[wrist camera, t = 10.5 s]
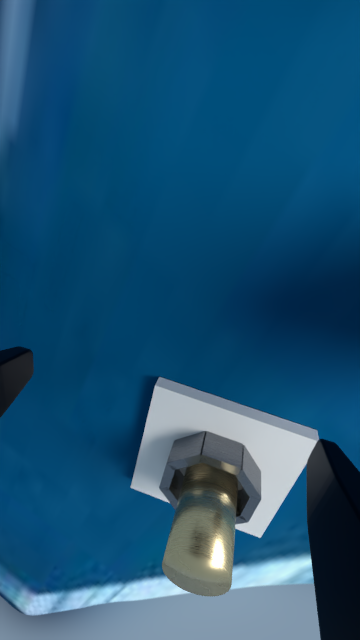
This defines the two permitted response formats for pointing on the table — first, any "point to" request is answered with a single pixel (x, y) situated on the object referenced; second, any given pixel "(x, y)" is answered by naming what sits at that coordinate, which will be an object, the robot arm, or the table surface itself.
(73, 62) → the table surface
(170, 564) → the brass cylinder
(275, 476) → the socket base
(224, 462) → the socket collar
